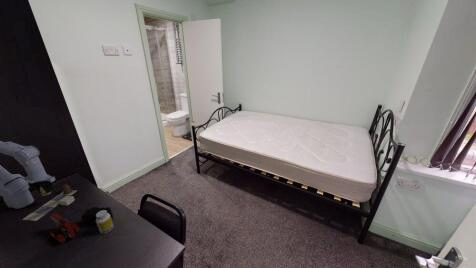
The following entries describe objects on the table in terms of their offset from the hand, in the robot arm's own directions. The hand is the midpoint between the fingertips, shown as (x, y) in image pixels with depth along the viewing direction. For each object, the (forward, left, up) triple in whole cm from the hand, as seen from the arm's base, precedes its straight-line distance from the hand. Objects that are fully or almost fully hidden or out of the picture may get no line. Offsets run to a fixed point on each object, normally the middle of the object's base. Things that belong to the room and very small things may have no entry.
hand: (46, 191), depth 92 cm
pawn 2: (0, +9, -8) cm, 12 cm away
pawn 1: (0, 0, -1) cm, 1 cm away
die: (+8, +1, -10) cm, 12 cm away
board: (0, 0, -9) cm, 9 cm away
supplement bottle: (+41, -12, -10) cm, 43 cm away
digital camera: (+34, -8, -10) cm, 36 cm away
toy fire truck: (+25, -16, -10) cm, 31 cm away
